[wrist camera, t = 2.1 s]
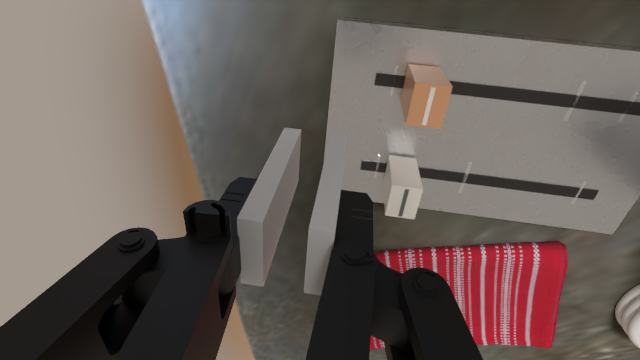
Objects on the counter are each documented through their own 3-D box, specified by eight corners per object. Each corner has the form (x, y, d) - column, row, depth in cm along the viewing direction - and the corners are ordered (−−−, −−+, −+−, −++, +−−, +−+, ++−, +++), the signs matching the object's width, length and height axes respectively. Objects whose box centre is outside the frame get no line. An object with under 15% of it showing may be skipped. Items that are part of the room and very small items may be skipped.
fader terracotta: (408, 63, 27) (415, 82, 22) (439, 67, 26) (453, 87, 22) (400, 101, 28) (405, 125, 24) (429, 104, 28) (440, 129, 24)
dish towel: (545, 334, 45) (554, 353, 43) (363, 336, 50) (363, 354, 48) (565, 233, 36) (578, 251, 34) (344, 248, 41) (342, 264, 39)
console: (339, 16, 28) (337, 20, 26) (710, 55, 26) (735, 61, 24) (322, 183, 36) (320, 195, 34) (600, 221, 34) (613, 235, 33)
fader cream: (388, 154, 31) (392, 185, 27) (415, 158, 31) (423, 189, 26) (383, 182, 33) (384, 216, 28) (408, 186, 32) (414, 220, 28)
